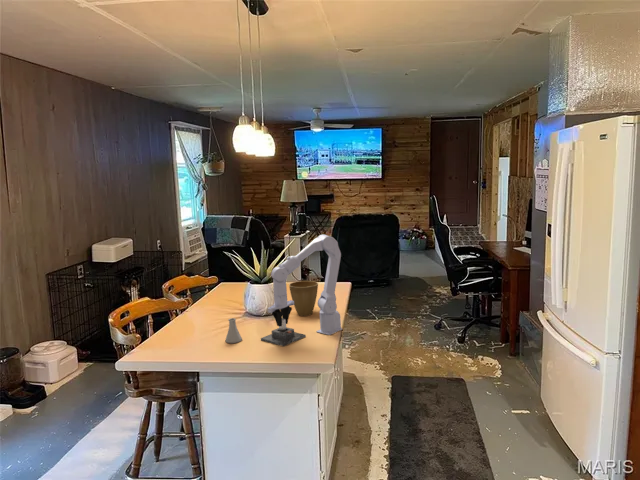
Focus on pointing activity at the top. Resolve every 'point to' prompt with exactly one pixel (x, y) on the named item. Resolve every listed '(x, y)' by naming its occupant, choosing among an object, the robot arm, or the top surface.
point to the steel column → (283, 325)
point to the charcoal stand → (283, 337)
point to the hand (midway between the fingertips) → (282, 324)
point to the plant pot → (304, 296)
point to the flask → (233, 332)
